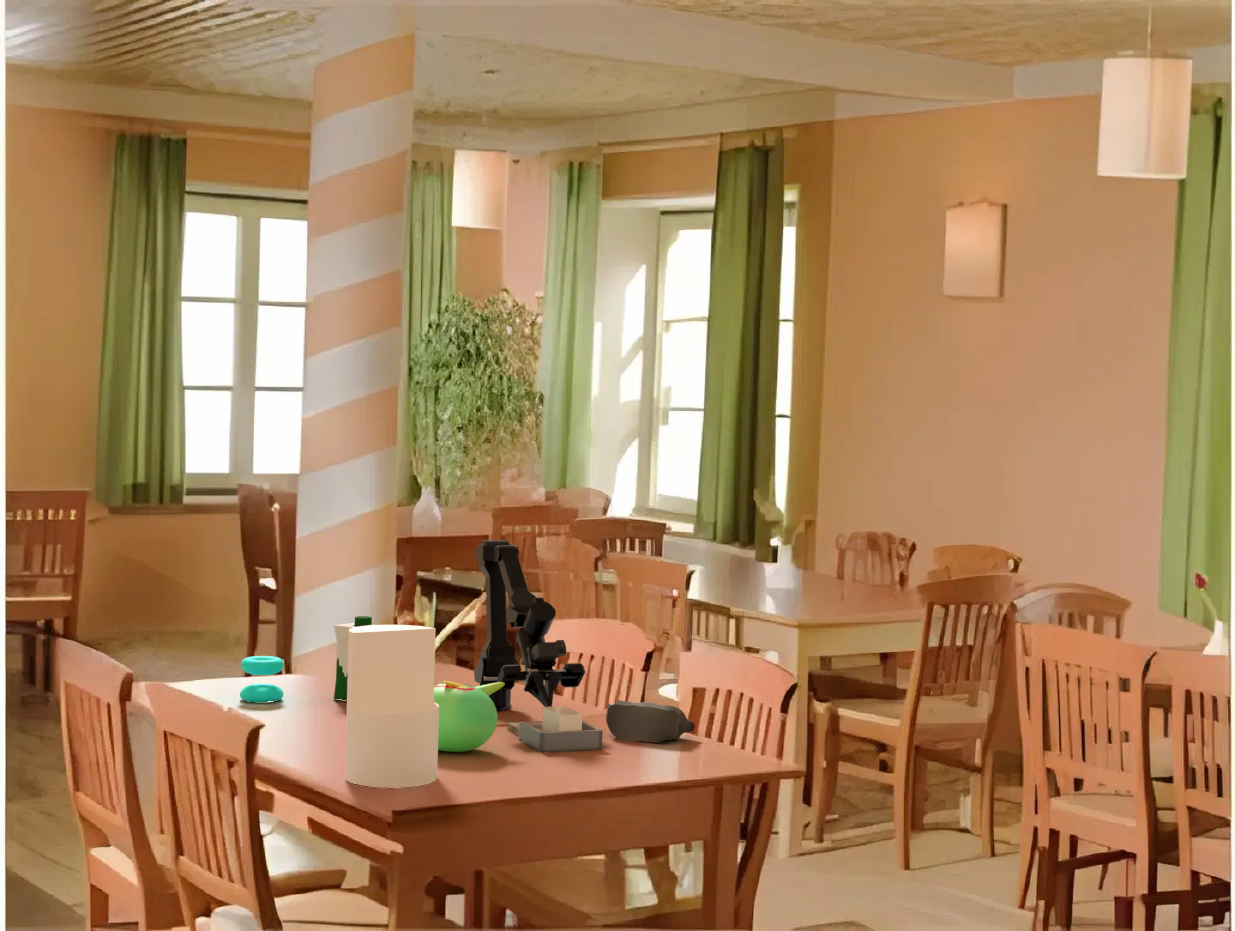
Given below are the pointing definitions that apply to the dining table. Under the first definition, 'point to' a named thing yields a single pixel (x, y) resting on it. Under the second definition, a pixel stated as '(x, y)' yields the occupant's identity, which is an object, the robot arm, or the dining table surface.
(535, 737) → the tray
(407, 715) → the cylinder
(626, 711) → the dark grey bottle
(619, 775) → the dining table surface
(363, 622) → the milk carton
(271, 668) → the donuts
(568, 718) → the cream rectangular block
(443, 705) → the green rounded body
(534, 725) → the board
